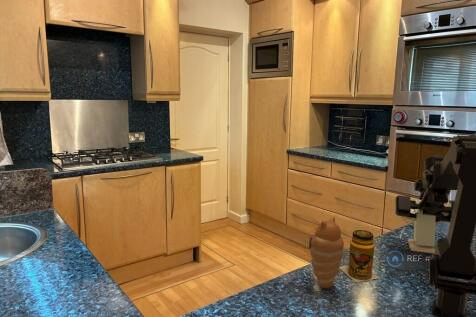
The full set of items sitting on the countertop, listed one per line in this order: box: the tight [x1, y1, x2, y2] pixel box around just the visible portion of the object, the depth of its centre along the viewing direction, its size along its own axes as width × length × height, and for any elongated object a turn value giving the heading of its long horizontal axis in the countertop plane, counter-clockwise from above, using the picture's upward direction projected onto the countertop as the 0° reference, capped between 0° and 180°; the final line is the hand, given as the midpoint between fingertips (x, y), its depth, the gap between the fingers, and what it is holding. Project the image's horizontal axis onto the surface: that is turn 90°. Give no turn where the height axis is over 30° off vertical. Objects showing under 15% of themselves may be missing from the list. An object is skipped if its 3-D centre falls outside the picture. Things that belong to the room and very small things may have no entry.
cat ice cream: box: [310, 216, 345, 289], centre depth 88 cm, size 9×8×18 cm
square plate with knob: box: [407, 238, 436, 254], centre depth 113 cm, size 7×7×4 cm
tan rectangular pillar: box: [413, 199, 436, 247], centre depth 112 cm, size 5×5×13 cm
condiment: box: [339, 229, 380, 283], centre depth 96 cm, size 7×8×12 cm
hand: (423, 220), depth 113 cm, fingers closed on tan rectangular pillar, 5 cm apart
